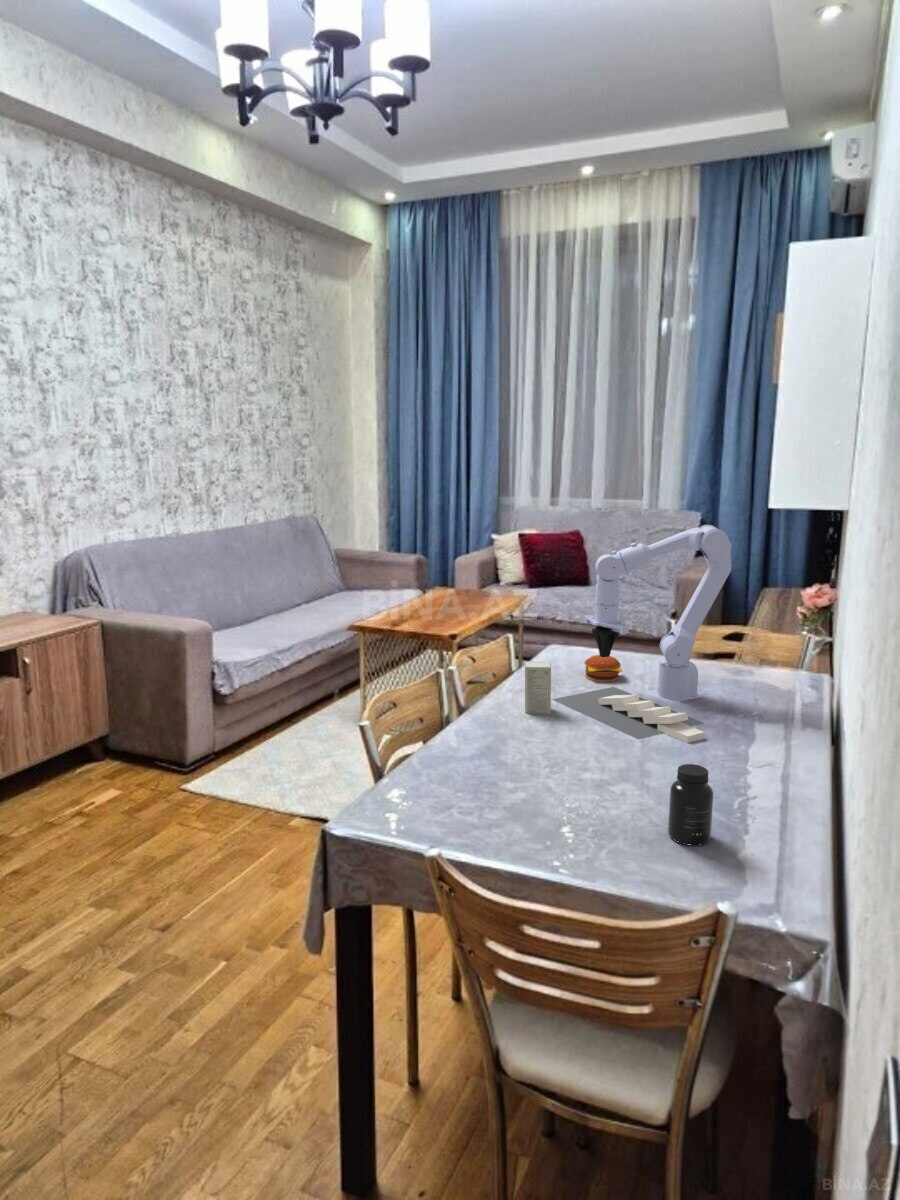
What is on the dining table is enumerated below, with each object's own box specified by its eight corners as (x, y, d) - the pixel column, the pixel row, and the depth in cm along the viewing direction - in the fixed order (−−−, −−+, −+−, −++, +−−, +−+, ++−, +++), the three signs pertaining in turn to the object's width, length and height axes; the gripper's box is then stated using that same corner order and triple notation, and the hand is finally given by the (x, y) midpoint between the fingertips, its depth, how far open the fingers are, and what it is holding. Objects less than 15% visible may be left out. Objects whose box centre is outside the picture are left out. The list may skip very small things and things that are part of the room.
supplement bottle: (661, 828, 138) (665, 761, 136) (700, 826, 139) (705, 760, 137) (676, 848, 132) (680, 778, 129) (717, 846, 132) (722, 777, 130)
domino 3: (627, 710, 190) (653, 710, 182) (643, 707, 193) (670, 706, 185) (628, 717, 190) (654, 716, 182) (644, 713, 192) (671, 713, 185)
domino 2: (611, 704, 195) (637, 704, 187) (627, 701, 197) (653, 700, 189) (612, 710, 195) (638, 710, 187) (628, 707, 197) (654, 706, 189)
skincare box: (550, 710, 197) (551, 661, 194) (550, 716, 192) (552, 667, 190) (524, 709, 197) (525, 661, 195) (524, 715, 193) (524, 666, 191)
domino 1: (598, 698, 199) (622, 697, 191) (614, 695, 201) (638, 694, 193) (599, 704, 199) (623, 704, 191) (614, 701, 201) (639, 700, 193)
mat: (613, 688, 213) (613, 686, 213) (704, 725, 186) (704, 722, 186) (551, 701, 203) (551, 699, 203) (638, 741, 177) (638, 739, 177)
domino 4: (642, 717, 186) (670, 716, 178) (659, 713, 188) (687, 712, 180) (643, 723, 186) (671, 723, 178) (660, 719, 188) (688, 719, 180)
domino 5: (657, 723, 182) (687, 736, 174) (674, 719, 184) (704, 732, 176) (657, 729, 182) (687, 743, 174) (673, 725, 184) (704, 738, 177)
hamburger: (614, 674, 226) (615, 651, 225) (622, 685, 217) (624, 661, 215) (580, 674, 226) (581, 651, 224) (587, 685, 216) (588, 661, 215)
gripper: (575, 599, 207) (574, 651, 209) (613, 610, 194) (611, 665, 197) (597, 597, 210) (595, 648, 213) (636, 607, 198) (633, 661, 200)
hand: (604, 656), depth 205 cm, fingers closed
